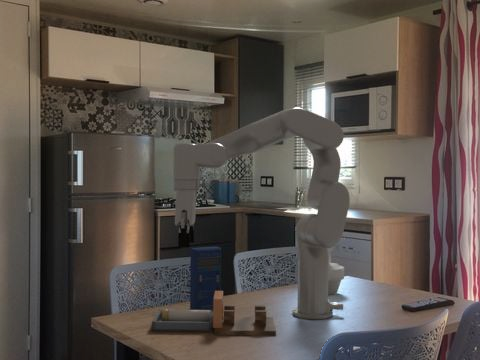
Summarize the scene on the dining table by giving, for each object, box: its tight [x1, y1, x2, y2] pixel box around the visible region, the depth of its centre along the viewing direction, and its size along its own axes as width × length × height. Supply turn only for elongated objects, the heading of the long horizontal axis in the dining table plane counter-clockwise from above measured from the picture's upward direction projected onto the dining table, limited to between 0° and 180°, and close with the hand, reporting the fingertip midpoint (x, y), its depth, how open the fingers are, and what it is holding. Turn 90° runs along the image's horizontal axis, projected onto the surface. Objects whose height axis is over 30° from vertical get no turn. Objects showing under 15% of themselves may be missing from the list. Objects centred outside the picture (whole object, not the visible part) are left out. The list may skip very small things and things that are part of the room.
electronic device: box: [189, 245, 222, 311], centre depth 176 cm, size 10×5×20 cm, turn 121°
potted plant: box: [327, 237, 346, 296], centre depth 202 cm, size 13×12×25 cm
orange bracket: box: [212, 290, 224, 329], centre depth 156 cm, size 2×10×8 cm, turn 0°
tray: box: [151, 309, 214, 333], centre depth 158 cm, size 17×13×3 cm
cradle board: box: [213, 304, 277, 336], centre depth 156 cm, size 17×14×6 cm
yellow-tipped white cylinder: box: [162, 308, 211, 322], centre depth 160 cm, size 14×4×4 cm
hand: (186, 244), depth 158 cm, fingers open, 9 cm apart
